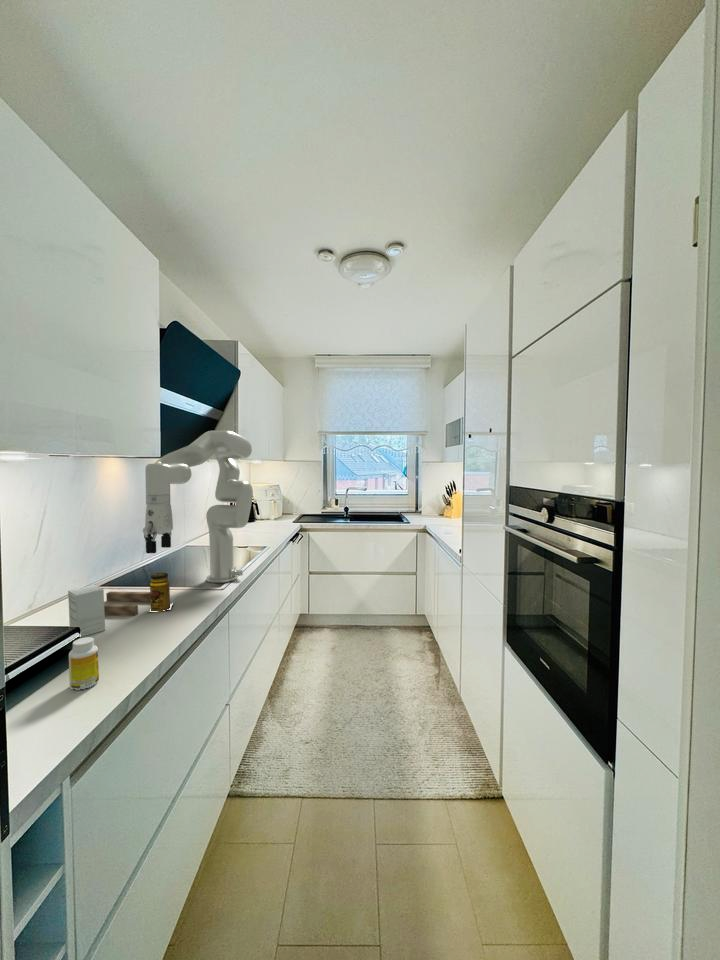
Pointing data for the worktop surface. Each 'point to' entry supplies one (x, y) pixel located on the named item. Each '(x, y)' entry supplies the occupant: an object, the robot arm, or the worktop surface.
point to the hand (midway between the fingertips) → (158, 550)
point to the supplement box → (87, 609)
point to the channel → (125, 608)
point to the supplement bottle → (83, 664)
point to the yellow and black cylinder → (159, 592)
